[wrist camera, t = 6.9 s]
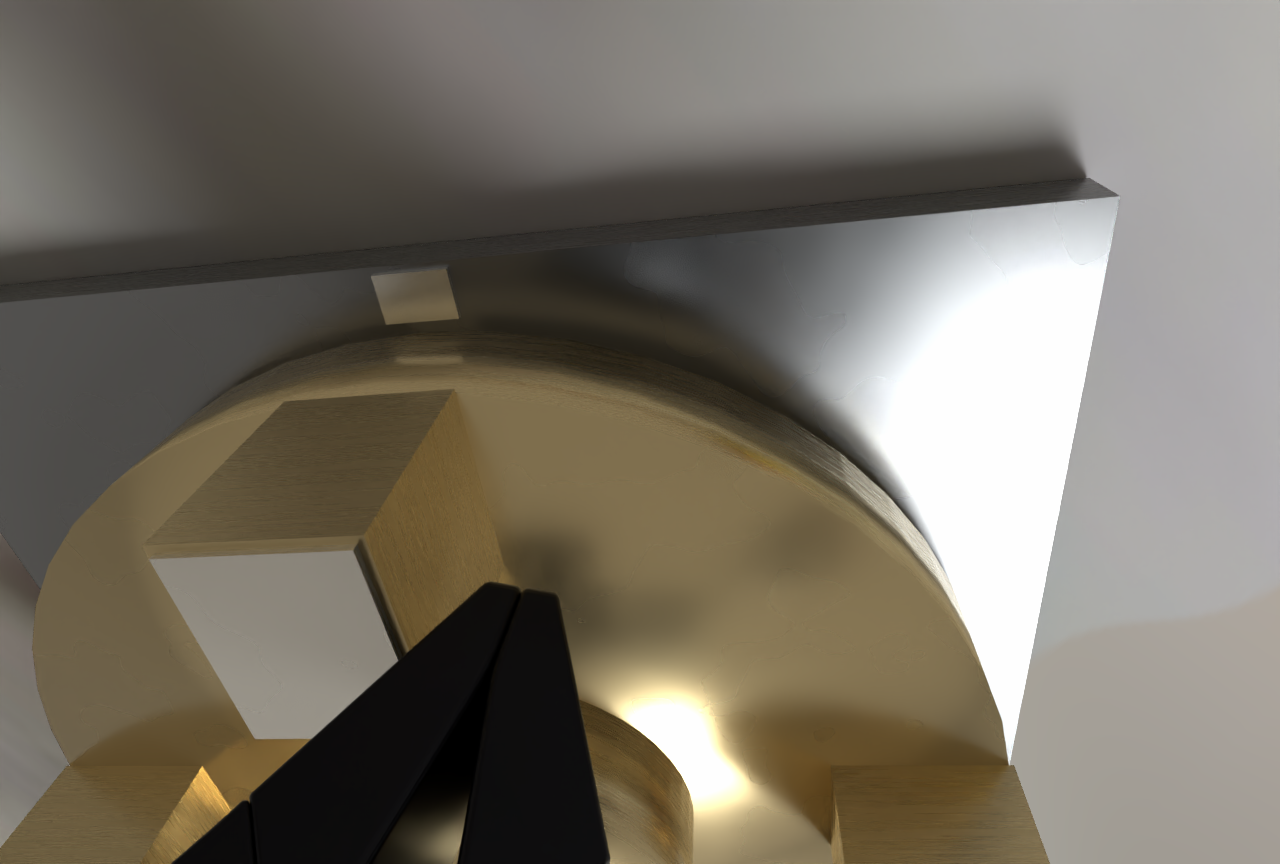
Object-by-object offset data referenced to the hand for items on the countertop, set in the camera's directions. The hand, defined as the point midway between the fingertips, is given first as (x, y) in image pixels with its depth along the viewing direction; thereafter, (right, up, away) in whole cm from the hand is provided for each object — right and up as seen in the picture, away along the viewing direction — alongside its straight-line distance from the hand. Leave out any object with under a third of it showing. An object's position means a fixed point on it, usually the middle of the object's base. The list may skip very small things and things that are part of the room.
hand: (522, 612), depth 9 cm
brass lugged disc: (-1, -4, +8) cm, 9 cm away
